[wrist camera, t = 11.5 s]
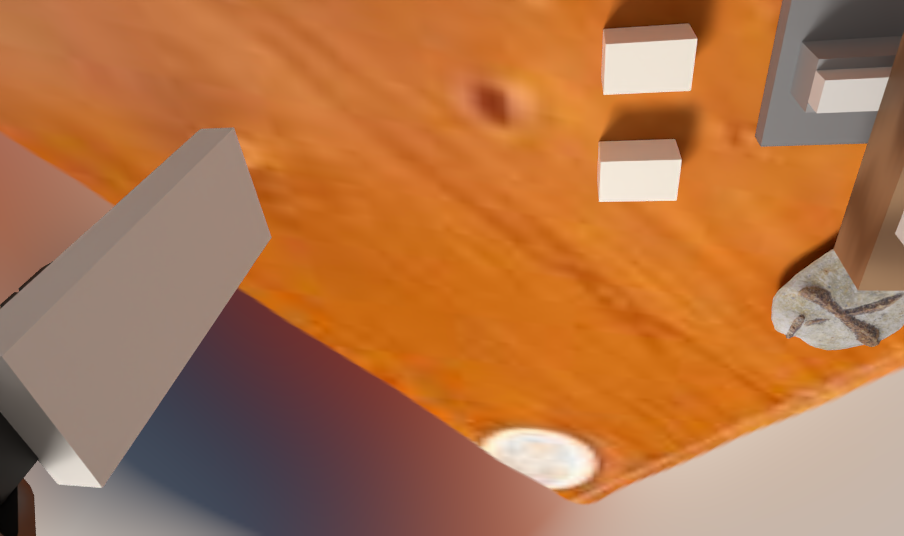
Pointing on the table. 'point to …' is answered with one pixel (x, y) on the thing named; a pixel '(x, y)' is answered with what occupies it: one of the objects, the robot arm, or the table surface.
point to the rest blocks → (644, 71)
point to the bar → (878, 197)
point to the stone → (835, 308)
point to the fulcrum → (829, 71)
